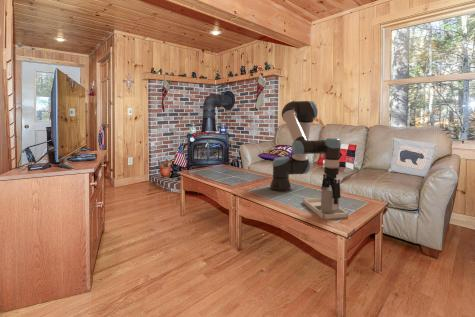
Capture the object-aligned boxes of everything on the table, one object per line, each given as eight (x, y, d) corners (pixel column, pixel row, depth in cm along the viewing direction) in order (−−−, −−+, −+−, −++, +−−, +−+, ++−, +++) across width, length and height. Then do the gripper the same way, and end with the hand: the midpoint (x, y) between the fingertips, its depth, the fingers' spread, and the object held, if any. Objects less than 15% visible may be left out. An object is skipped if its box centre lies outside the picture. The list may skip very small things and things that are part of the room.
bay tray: (303, 202, 168) (303, 198, 168) (324, 201, 170) (324, 197, 170) (323, 219, 141) (323, 214, 141) (348, 217, 143) (348, 213, 143)
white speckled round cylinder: (323, 205, 155) (324, 185, 153) (340, 208, 150) (341, 187, 148) (318, 210, 148) (319, 189, 146) (336, 214, 142) (337, 192, 140)
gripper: (349, 170, 135) (347, 212, 138) (328, 162, 156) (326, 199, 160) (335, 171, 133) (333, 213, 137) (316, 163, 155) (314, 200, 159)
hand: (329, 206), depth 149 cm, fingers closed on white speckled round cylinder, 9 cm apart
